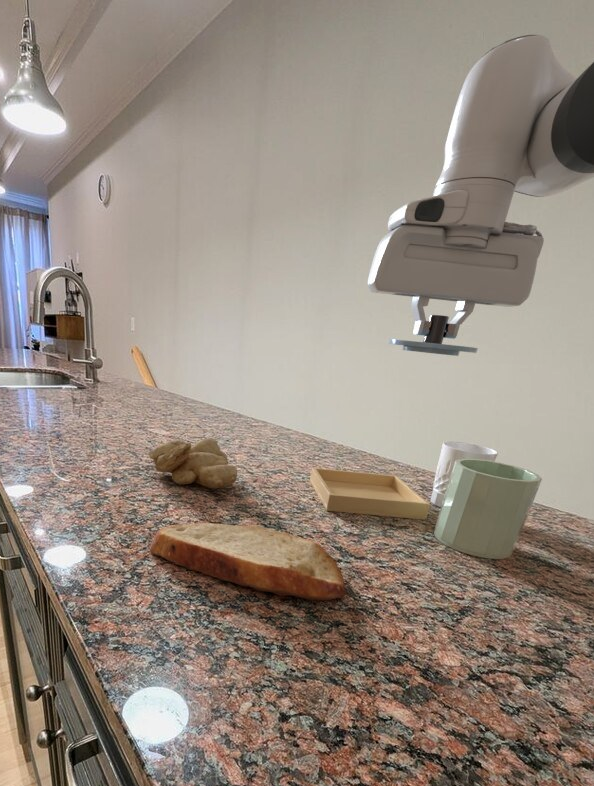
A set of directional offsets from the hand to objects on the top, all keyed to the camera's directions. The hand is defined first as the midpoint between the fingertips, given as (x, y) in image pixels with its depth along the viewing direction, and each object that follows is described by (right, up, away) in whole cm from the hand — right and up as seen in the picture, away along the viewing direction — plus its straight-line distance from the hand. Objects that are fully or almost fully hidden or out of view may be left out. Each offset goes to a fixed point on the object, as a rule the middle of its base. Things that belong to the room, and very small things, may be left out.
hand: (433, 336), depth 61 cm
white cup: (+10, -23, +14) cm, 29 cm away
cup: (+5, -28, +1) cm, 29 cm away
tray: (-5, -22, +13) cm, 26 cm away
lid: (0, -1, +1) cm, 2 cm away
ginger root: (-34, -18, +15) cm, 41 cm away
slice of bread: (-27, -30, -12) cm, 42 cm away
